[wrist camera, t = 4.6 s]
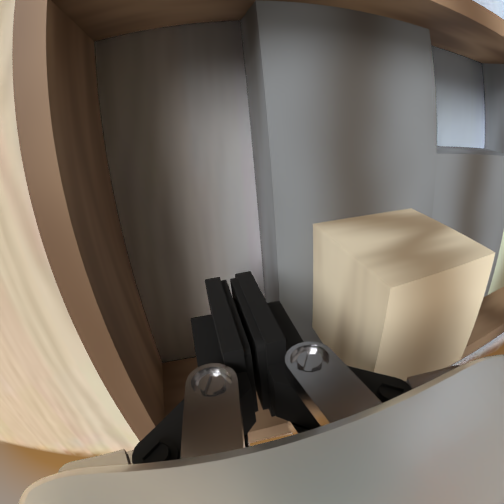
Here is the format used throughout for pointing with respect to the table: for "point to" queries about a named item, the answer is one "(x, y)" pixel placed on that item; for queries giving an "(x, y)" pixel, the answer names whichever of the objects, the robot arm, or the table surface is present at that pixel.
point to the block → (396, 291)
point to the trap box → (259, 156)
